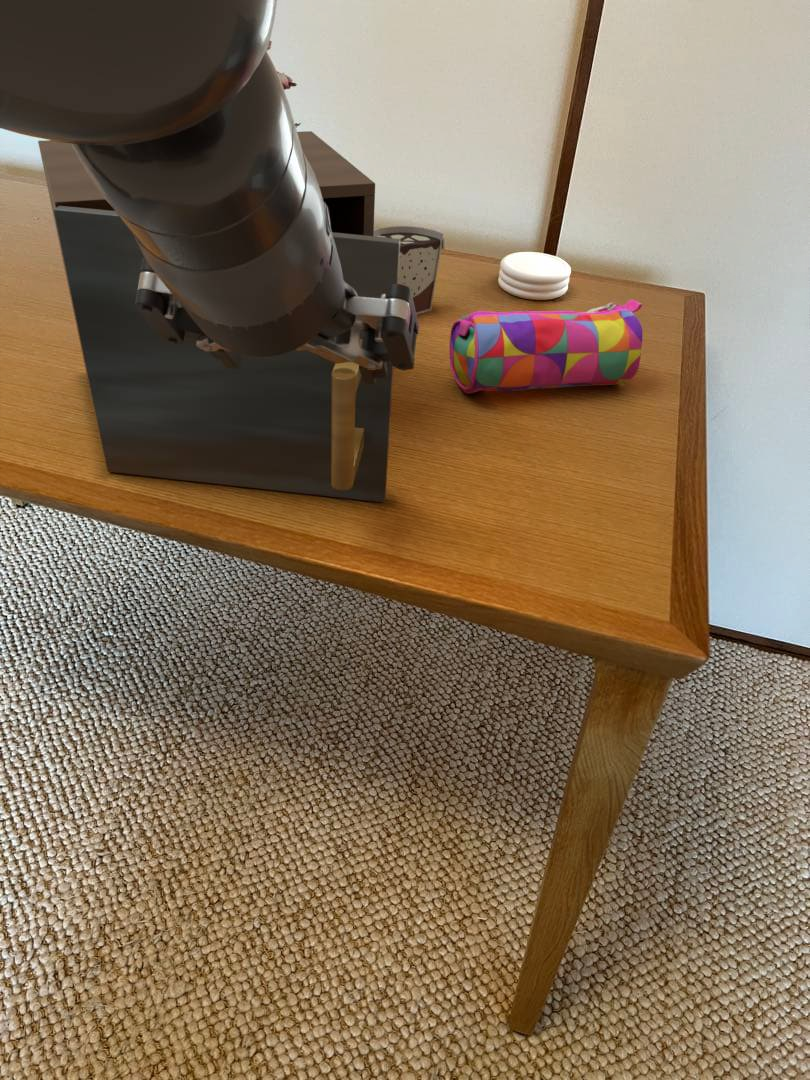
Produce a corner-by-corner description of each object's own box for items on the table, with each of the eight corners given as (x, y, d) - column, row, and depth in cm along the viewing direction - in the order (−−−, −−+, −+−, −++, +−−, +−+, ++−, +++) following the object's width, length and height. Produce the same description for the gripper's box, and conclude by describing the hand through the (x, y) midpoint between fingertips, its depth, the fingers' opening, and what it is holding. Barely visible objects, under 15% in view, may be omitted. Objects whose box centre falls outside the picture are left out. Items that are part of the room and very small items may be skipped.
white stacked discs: (533, 307, 111) (537, 282, 109) (483, 282, 117) (486, 258, 115) (581, 292, 117) (586, 268, 114) (531, 269, 122) (535, 245, 120)
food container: (410, 292, 113) (415, 218, 106) (439, 308, 109) (446, 232, 103) (338, 311, 106) (338, 234, 100) (366, 329, 103) (369, 250, 96)
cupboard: (366, 423, 85) (375, 183, 70) (108, 465, 76) (54, 202, 61) (314, 348, 98) (311, 131, 83) (87, 377, 89) (37, 140, 74)
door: (374, 550, 69) (387, 278, 54) (76, 516, 70) (8, 240, 55) (385, 496, 75) (400, 238, 60) (111, 465, 76) (58, 205, 61)
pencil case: (603, 355, 101) (619, 285, 95) (642, 392, 94) (662, 318, 88) (439, 372, 95) (446, 298, 89) (468, 412, 88) (477, 335, 82)
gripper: (63, 305, 34) (183, 407, 50) (397, 342, 33) (410, 433, 50) (92, 138, 35) (201, 291, 51) (420, 170, 34) (426, 315, 50)
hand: (304, 361), depth 50 cm, fingers open, 8 cm apart
